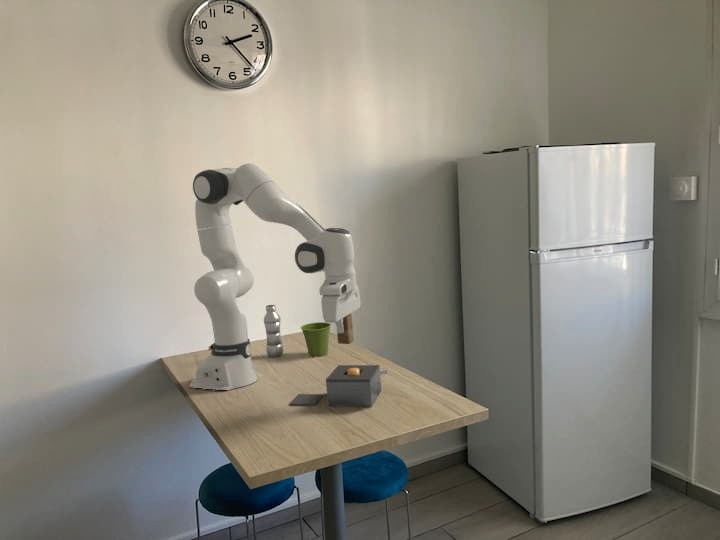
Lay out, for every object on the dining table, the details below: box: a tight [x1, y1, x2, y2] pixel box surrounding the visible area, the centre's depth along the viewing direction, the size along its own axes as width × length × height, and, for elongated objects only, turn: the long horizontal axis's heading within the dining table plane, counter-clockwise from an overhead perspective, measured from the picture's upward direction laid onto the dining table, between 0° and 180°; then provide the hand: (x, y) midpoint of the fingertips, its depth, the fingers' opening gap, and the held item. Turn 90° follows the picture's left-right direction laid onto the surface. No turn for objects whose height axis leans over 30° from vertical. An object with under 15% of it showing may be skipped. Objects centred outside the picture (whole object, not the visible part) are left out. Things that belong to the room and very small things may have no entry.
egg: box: [347, 368, 360, 375], centre depth 168 cm, size 4×4×6 cm
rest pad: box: [288, 393, 324, 407], centre depth 170 cm, size 8×8×1 cm
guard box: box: [325, 364, 382, 408], centre depth 168 cm, size 13×13×8 cm
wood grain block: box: [336, 313, 355, 345], centre depth 166 cm, size 4×4×8 cm
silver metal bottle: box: [263, 304, 284, 358], centre depth 220 cm, size 6×7×20 cm
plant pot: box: [300, 321, 332, 357], centre depth 218 cm, size 12×12×11 cm
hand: (344, 330), depth 166 cm, fingers closed on wood grain block, 3 cm apart
